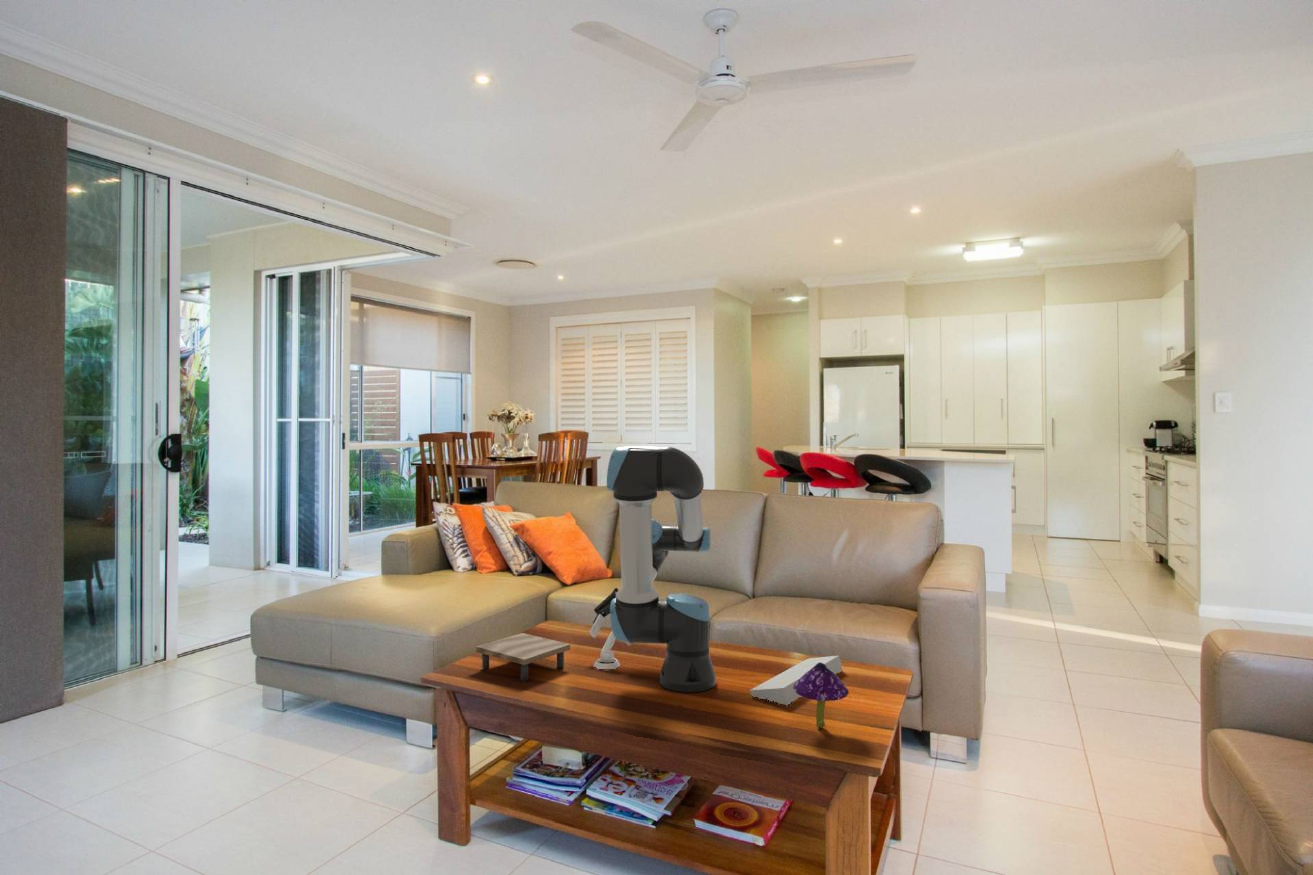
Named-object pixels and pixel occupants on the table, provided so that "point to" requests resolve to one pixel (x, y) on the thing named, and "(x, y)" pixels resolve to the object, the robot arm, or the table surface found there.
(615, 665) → the white ring with handle
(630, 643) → the robot arm
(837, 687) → the decorative mushroom
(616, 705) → the table surface
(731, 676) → the table surface
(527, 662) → the small wooden table
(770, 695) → the decorative molding
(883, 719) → the table surface
